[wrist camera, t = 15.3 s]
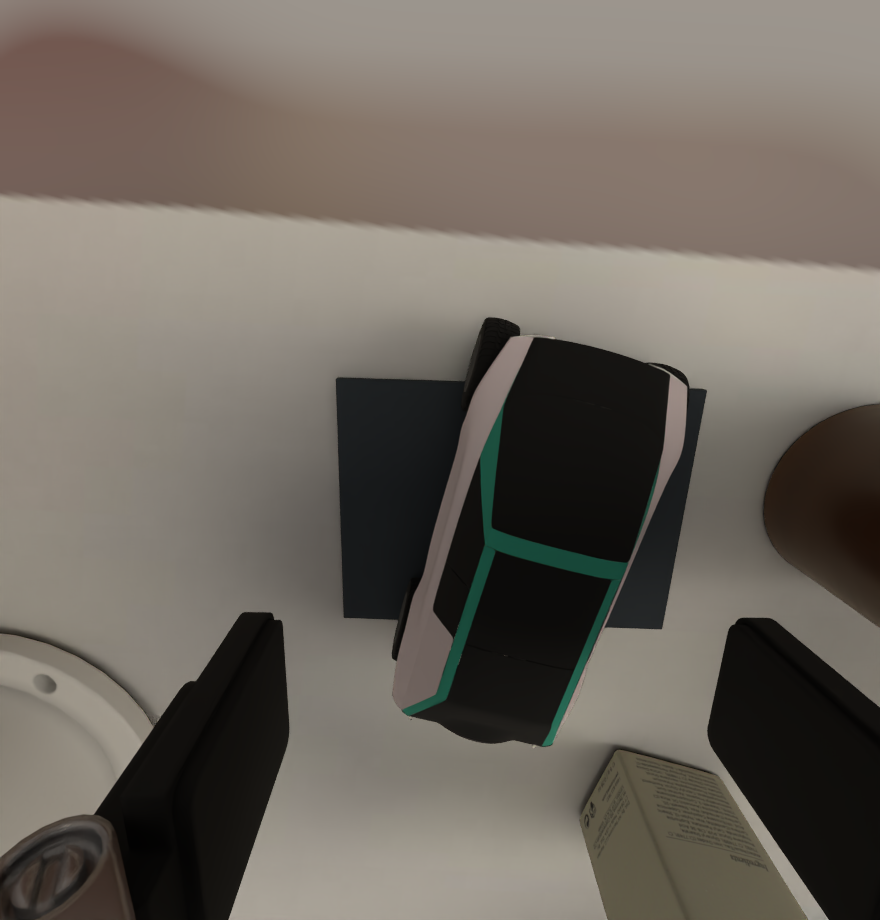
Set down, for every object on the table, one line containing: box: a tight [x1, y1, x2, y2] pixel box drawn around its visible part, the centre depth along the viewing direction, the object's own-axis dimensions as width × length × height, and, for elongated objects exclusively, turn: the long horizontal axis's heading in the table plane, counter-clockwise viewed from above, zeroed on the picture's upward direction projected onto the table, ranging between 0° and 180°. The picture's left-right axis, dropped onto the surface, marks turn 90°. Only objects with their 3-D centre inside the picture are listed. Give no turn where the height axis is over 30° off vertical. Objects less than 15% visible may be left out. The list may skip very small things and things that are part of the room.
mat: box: [336, 378, 707, 629], centre depth 17 cm, size 12×9×1 cm
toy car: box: [392, 317, 690, 748], centre depth 14 cm, size 6×12×5 cm, turn 165°
